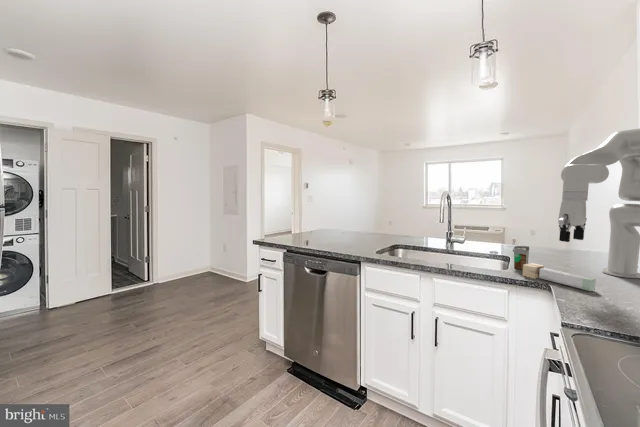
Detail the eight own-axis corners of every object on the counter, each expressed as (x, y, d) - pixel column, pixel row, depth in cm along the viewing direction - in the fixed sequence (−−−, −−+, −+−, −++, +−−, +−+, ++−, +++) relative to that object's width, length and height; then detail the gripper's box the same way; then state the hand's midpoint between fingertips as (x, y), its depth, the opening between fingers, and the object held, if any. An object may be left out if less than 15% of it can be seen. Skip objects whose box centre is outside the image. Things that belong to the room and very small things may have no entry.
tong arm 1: (539, 278, 128) (539, 268, 128) (541, 277, 129) (542, 268, 128) (589, 291, 112) (590, 280, 112) (592, 290, 113) (593, 279, 113)
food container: (513, 264, 153) (514, 244, 152) (528, 266, 149) (529, 246, 148) (509, 269, 143) (510, 248, 142) (525, 271, 139) (526, 250, 139)
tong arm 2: (541, 277, 129) (542, 268, 128) (544, 277, 130) (544, 267, 129) (592, 290, 113) (593, 279, 113) (594, 290, 114) (595, 279, 113)
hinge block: (531, 274, 136) (532, 263, 135) (543, 277, 131) (544, 265, 131) (522, 275, 133) (523, 264, 132) (534, 278, 128) (535, 267, 128)
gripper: (575, 196, 124) (572, 237, 126) (550, 196, 117) (547, 240, 118) (598, 196, 118) (594, 240, 119) (573, 197, 110) (570, 243, 112)
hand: (571, 240), depth 119 cm, fingers open, 9 cm apart
